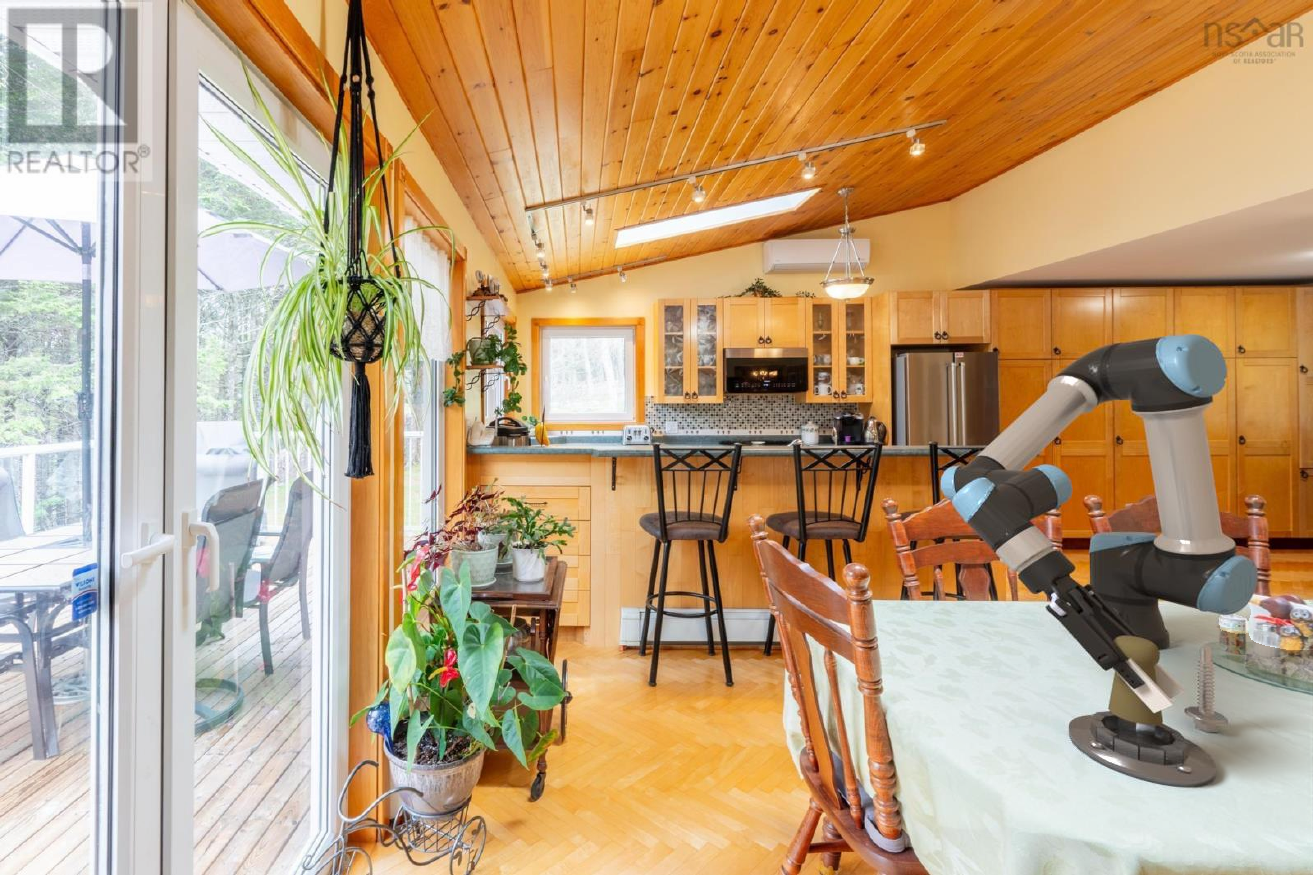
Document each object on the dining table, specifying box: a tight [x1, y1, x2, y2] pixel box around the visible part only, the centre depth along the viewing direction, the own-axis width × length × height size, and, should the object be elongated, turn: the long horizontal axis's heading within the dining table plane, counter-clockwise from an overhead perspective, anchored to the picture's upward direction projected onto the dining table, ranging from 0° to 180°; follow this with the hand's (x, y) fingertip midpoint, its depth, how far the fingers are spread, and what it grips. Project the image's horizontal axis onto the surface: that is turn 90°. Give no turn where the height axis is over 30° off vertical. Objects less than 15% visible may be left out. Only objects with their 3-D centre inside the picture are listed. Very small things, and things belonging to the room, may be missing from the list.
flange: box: [1068, 710, 1216, 788], centre depth 81 cm, size 16×16×3 cm
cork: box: [1107, 636, 1164, 725], centre depth 81 cm, size 6×6×11 cm
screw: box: [1183, 645, 1229, 733], centre depth 87 cm, size 13×5×5 cm
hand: (1169, 701), depth 78 cm, fingers closed on cork, 5 cm apart
